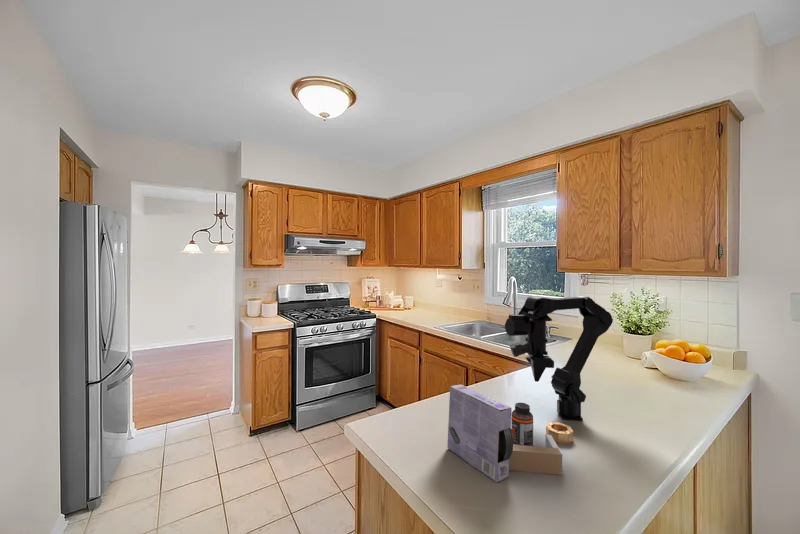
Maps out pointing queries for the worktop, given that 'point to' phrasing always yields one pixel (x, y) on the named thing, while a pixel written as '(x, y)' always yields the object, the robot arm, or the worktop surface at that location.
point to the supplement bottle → (522, 425)
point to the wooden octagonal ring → (560, 432)
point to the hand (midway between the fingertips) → (536, 381)
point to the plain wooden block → (537, 458)
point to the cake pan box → (480, 431)
